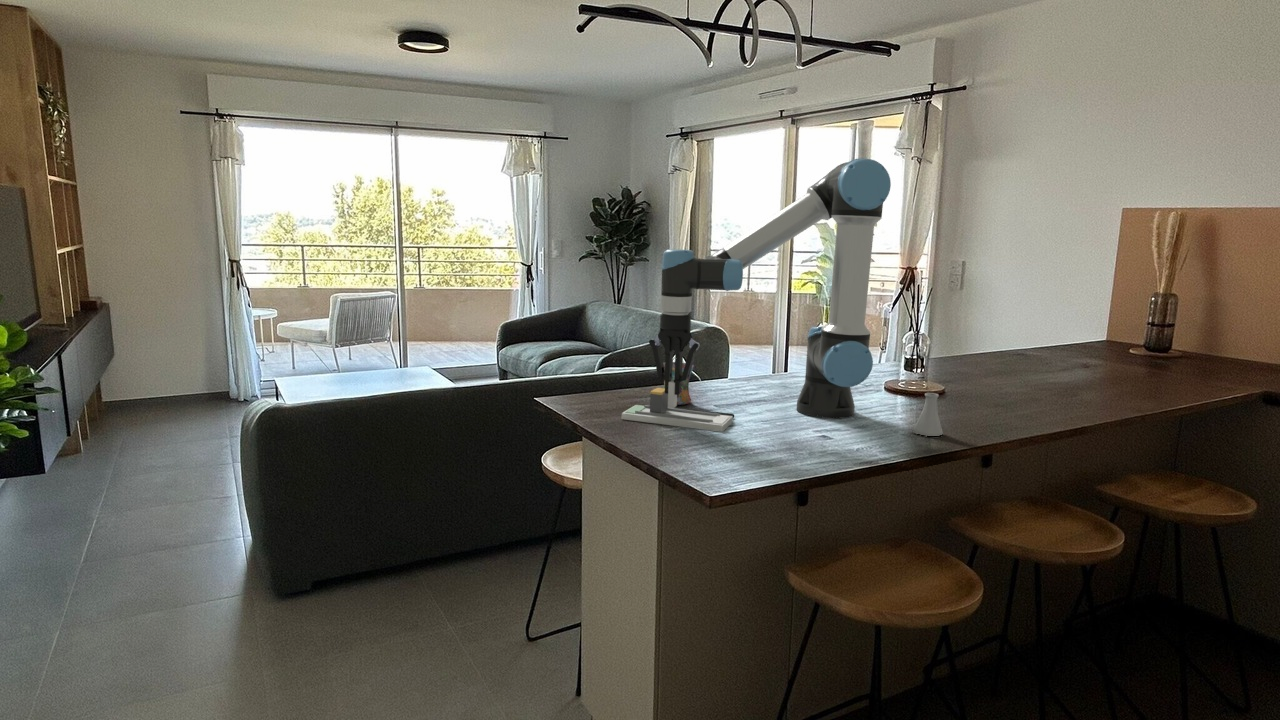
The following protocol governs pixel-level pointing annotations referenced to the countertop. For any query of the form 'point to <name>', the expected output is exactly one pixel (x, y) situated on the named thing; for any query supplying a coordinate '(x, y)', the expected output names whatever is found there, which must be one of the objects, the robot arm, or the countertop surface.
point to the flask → (929, 418)
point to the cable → (712, 412)
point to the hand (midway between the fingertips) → (672, 406)
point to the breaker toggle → (658, 401)
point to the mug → (682, 387)
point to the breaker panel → (679, 418)
